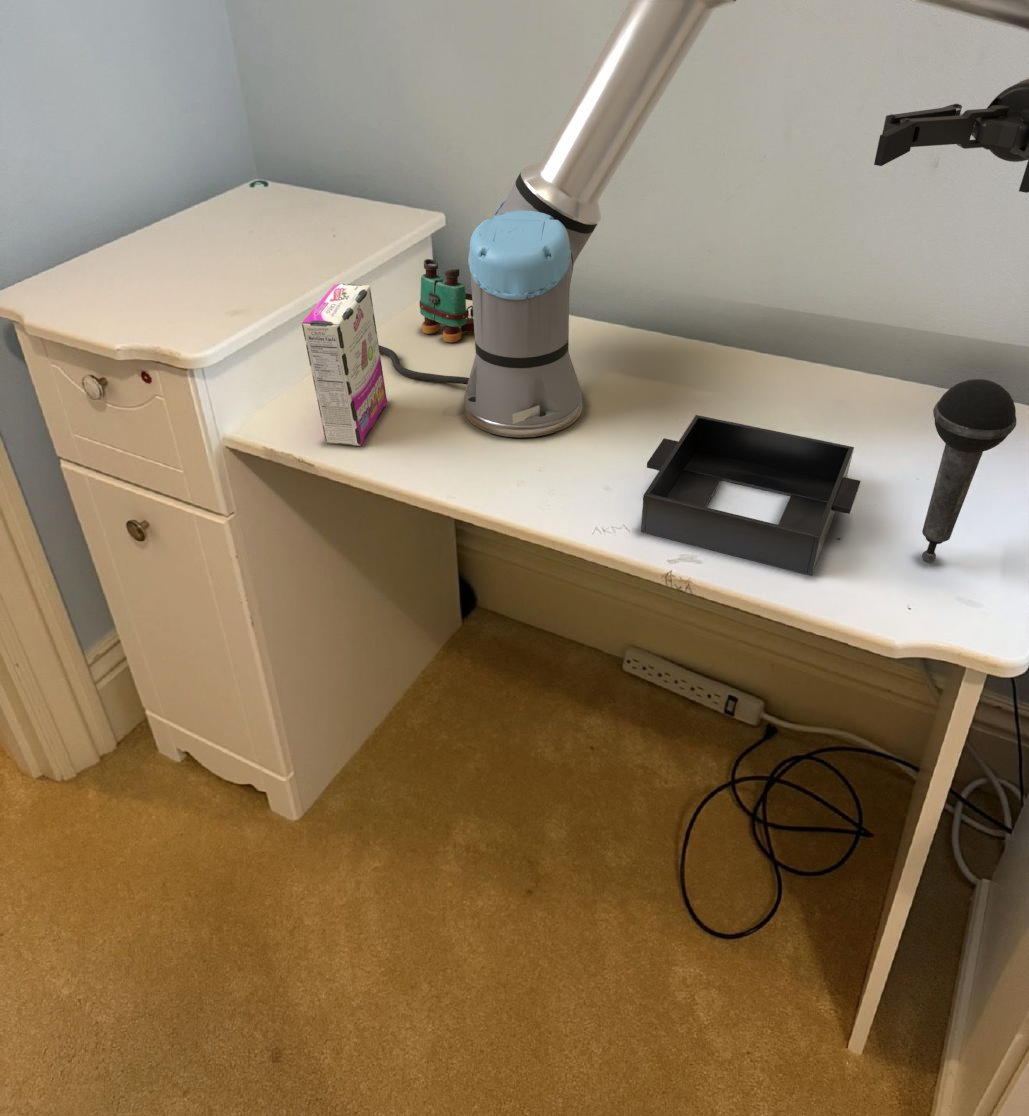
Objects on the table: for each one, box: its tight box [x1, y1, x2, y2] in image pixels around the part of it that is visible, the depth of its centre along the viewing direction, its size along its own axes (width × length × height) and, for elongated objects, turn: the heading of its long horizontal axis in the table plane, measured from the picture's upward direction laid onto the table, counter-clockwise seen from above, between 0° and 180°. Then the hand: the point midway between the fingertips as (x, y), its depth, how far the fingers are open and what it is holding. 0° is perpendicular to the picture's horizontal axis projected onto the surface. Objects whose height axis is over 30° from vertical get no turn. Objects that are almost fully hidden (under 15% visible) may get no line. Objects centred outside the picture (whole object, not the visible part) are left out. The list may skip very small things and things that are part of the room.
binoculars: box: [419, 258, 474, 343], centre depth 136 cm, size 9×11×10 cm
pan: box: [640, 414, 862, 576], centre depth 99 cm, size 22×18×5 cm
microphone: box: [921, 378, 1017, 564], centre depth 86 cm, size 7×7×20 cm
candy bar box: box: [300, 283, 388, 447], centre depth 112 cm, size 11×5×16 cm, turn 168°
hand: (950, 163), depth 84 cm, fingers open, 13 cm apart
